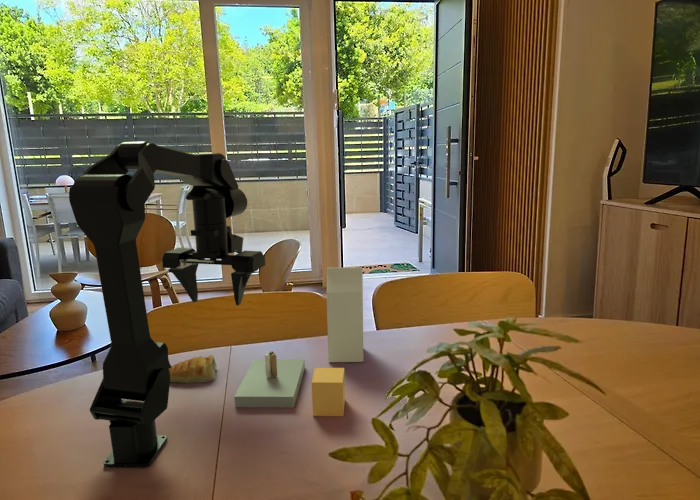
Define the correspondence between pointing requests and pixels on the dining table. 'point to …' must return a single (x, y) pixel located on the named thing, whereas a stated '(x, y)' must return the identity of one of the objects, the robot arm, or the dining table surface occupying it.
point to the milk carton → (345, 314)
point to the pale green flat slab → (271, 383)
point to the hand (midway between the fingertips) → (216, 303)
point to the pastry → (193, 370)
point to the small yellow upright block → (328, 392)
